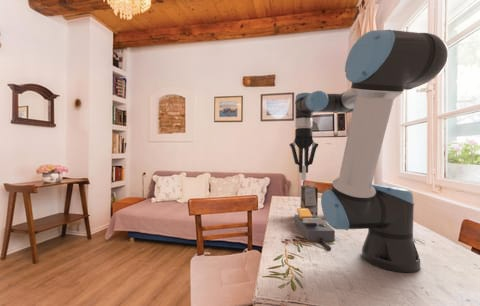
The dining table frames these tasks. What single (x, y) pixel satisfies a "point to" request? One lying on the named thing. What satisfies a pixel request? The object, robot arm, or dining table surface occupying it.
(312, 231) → the power strip
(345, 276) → the dining table surface
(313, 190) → the coffee box
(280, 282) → the dining table surface
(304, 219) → the grey rocker
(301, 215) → the amber rocker
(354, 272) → the dining table surface
